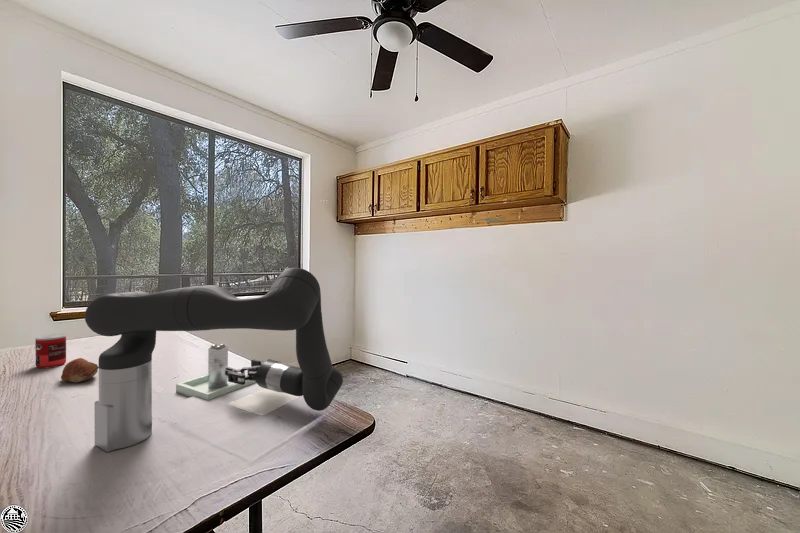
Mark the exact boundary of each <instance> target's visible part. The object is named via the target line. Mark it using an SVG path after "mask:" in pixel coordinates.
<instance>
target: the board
mask: <svg viewBox="0 0 800 533" xmlns="http://www.w3.org/2000/svg"><path fill="white" fill-rule="evenodd" d="M301 397H302V396H294V395H291V394H287V393H282V392H276V391H273V390H269V389H265V388H262V389H260V390H258V391H254V392H253V393H250V394H248V395H245V396H242V397H240V398H237V399H235V400H233V401H231V402H227V405H229V406H231V407H234V408H238V409H241V410H243V411H246V412H249V413H252V414H255V415H258V416H261V417H262V416H263V417H264V416H265V415H267V414H269V413H271V412H273V411H275V410H277V409H279V408H281V407H283V406H285V405H287V404H289V403H291V402H293V401H295V400H298V399H299V398H301Z"/></svg>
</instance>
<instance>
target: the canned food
mask: <svg viewBox="0 0 800 533" xmlns="http://www.w3.org/2000/svg"><path fill="white" fill-rule="evenodd" d="M34 344H35V346H34V347H35V366H36V368H37V367H38V368H37V369H46V368H45V367H51V368H54V367H53V366H57V367H59V366H58V365H61V366H63V365H65V364H66V363H67V334H64V333H55V334H53V333H52V334H45V335H40V336H37V337H35V343H34ZM64 363H65V364H64ZM62 364H63V365H62Z"/></svg>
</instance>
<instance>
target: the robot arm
mask: <svg viewBox="0 0 800 533" xmlns="http://www.w3.org/2000/svg"><path fill="white" fill-rule="evenodd" d="M322 313H323V312H322V295H321V287H320V284H319V280H318V279H317V278H316V276H315V275H314V274H312V273H311V272H310V271H308V270H306V269H304V268H301V267H290V268H286V269H285V270H283V271H282V272H281V273H280V274H279V275H278V276H277V278H275V280H274V281H273V284H272V285H271V287H270V288H269V290H268V291H267V293H266V294H264V295H262V296H258V297H253V298H252V297H251V298H238V297H237V296H235V295H234V294H233V293H232V292H231V291H229V290H227V289H225V288H223V287H221V286H218V285H213V284H210V285H209V284H207V285H205V284H203V285H194V286H185V287H180V288H179V287H178V288H174V289H167V290H162V291H158V292H154V293H153V292H152V293H149V292H147V291H140V290H138V291H128V292H125V291H124V292H114V293H108V294H103V295H100V296H98V297H97V298H95V299H93V300H92V301H91V302H90V303H89V304H88V305H87V307H86V309H85V313H84V320H85V323H86V325H87V327H88V328H89V330H91V331H92V332H94V333H95V334H97V335H100V336H104V337H116V336H120V335H121V336H120V337H119V339H118V340H117V341H116V342H115V343H114V344H113V345H112V346H111V347H109V348H107V349H105V350H104V351H102V352H101V353H100V355H99V357H98V367H99V368H98V400H96V401H95V402H94V404H93V405H94V445H95V446H96V447H98V448H99V449H101V450H103V451H104V452H106V453H108V452H112V451H115V450H118V449H124V448H128V447H130V446H134V445H136V444H140V442H143V441H145V440H146V439H147V438H149V437H150V436H151V435H152V432H153V412H152V411H153V406H152V405H153V402H152V401H153V400H152V399H153V396H152V395H153V384H152V383H153V382H152V381H153V378H152V377H153V373H152V372H153V371H152V370H153V368H152V367H153V364H152V362H153V357H152V356H153V351H154V350H155V349H156V348H155V347H156V341H157V332H198V331H199V332H200V331H211V330H229V329H230V330H233V329H234V330H235V329H236V330H237V329H242V330H243V329H248V330H251V329H252V330H262V331H263V330H264V331H265V330H266V331H267V330H268V331H294V330H295V353H296V360H297V363H298V366H299V367H297V366H295V365H291V364H289V363H285V362H282V361H278V360H275V359H270V358H269V359H266V360H257V359H251V360H250V366H244V367H242V368H239V369H237V368H234V367H233V368H232V367H230V366H228V368H226V369H225V375H226V376H228V382H232V383H231V384H234V383H236V384H241V385H243V384H245V381H246V380H252V381H256V382H255V383H256V384H257V385H258V387H260V388H262V389H269V390H273V391H276V392H282V393H287V394H291V395H294V396H301V397H303V400H304V402H305V404H306V405H307V406H308V407H309V408H310V409H311V410H314V411H318V412H319V411H324V410H325V409H327V408H329V406H331V404H332V402H333V400H334V399H335V397H336V395H337V394H338V392H339V391H340V389H341V387H342V385H343V383H344V377H343V375H342V374H341V372H340V371H339V370H338V369H336V368H334V367H333V365H332V364H333V363H332V361H331V360H332V359H331V356H330V354H329V348H328V346H327V340H326V336H325V331H324V330H325V329H324V322H323V314H322ZM246 371H247V372H246ZM237 372H238V373H237ZM245 374H246V376H245Z"/></svg>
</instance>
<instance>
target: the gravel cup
mask: <svg viewBox="0 0 800 533" xmlns="http://www.w3.org/2000/svg"><path fill="white" fill-rule="evenodd" d="M207 352H208V354H207V357H208V360H207V363H208V365H207V366H208V367H207V368H208V369H207V370H208V371H207V374H208V388H209V389H213V390H215V389H216V390H217V389H220V388H223V387H226V386H228V385H229V384H228V376H226V375H225V369H226V368H228V367H229V366H228V365H229V347H228V346H227V345H225V344H224V343H220V344H218V345H217V344H212V345H210V347H208V351H207Z"/></svg>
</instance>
